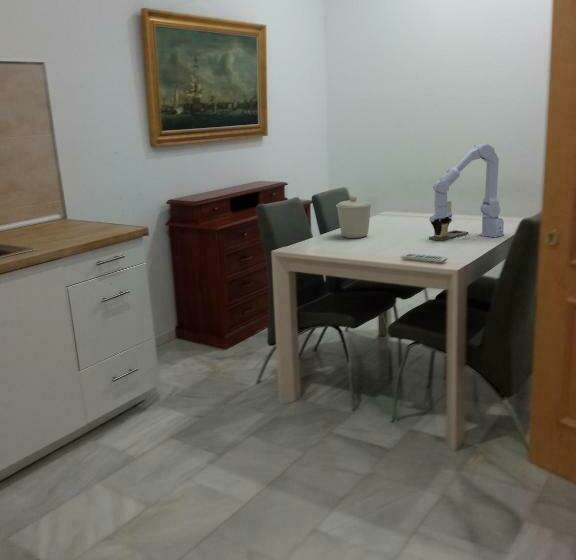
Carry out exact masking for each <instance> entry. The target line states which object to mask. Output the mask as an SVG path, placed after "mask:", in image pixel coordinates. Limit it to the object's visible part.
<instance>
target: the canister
mask: <svg viewBox="0 0 576 560" xmlns="http://www.w3.org/2000/svg"><path fill="white" fill-rule="evenodd" d="M372 205H373V203H371V202H370V201H369V200H363V199H358V197H357V195H354V194H353V195H350V196H349V199H348V200H343V201H339V202H338V203H337V204H336V205H335V207H336V209H337V216H338V222H339V223H338V224H339V228H340V233H341V235H342V237H344V238H347V239H360V238H361V239H362V238H364V237H366V236H367V235H368V234H369V228H370V219H371V218H370V216H371V206H372Z"/></svg>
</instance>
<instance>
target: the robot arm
mask: <svg viewBox="0 0 576 560" xmlns="http://www.w3.org/2000/svg"><path fill="white" fill-rule="evenodd" d="M479 159H482V161H484V163H486V170H485V172H486V173H485V188H484V191H485V192H484V197H483V199H482V204H481V205H480V212H481V213H482V218H481V219H482V220H481V221H482V222H481V225H482V227H481V229H482V230H481V232H482V233H478V236H481V235H482V236H481V237H488V236H489V238H497V237H501V236H504V235H505V233H504V227H505V226H504V224H505V223H504V219H503V218H501V217H499V215H500V213H501V207H500V205H499V204H500V202H499V199H498V197H497V196H498V178H499V176H498V175H499V157H498V155H497V152H496V151H495V147H493V146H492V145H491V144H489V143H482V142H477V143H475V144H474V145H473V147H471V148H470V149H469V150H468V151H467V152H466V154H465V155H463V157H462V159H460V161H459V162H458V163H457V164H456V165H455V166H454V167H450V168H448V169H446V173H444V174H443V175H442V176H440V177H439V180H436V181H435V182H434V185H433V186H432V189H433V191H434V214H433V215H432V216H430V217H429V222H430V223H431V225H432V228H433V232H434V231H435V234H436V235H440V229H441V224H442V223H448V227H449V226H450V224H451V222H452V221H451V220H452V217H453V213H452V212H451V213H447V199H448V191H449V190H450V187H451V186H452V185H453V184H454V183H455V182H456V180H458V179H459V178H460V176H461V172H462V171H463V170H464V169H465V168H466V167H467V166H468V165H469V164H470V163H472V161H476V160H479ZM449 217H451V218H449Z"/></svg>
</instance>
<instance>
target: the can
mask: <svg viewBox="0 0 576 560" xmlns="http://www.w3.org/2000/svg"><path fill="white" fill-rule="evenodd" d="M447 213H452V199H448V198H447ZM449 218H451V222H452V221H453V220H452V217H449Z"/></svg>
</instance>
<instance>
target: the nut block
mask: <svg viewBox="0 0 576 560" xmlns="http://www.w3.org/2000/svg"><path fill="white" fill-rule="evenodd" d="M448 232H449V226H448V223H442V224H441V229H440V235H436V234H435V231H434V230H433V236H434V237H437V238H445V237H448Z"/></svg>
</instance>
